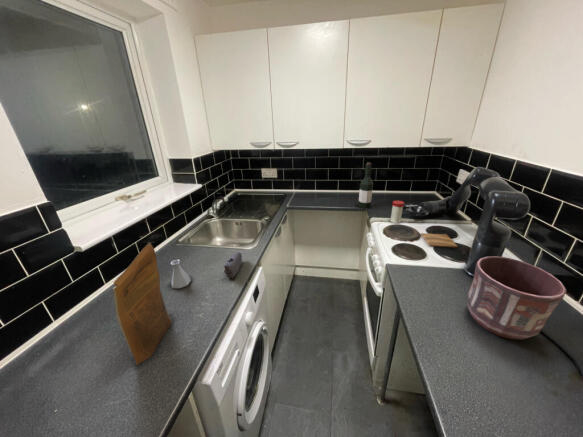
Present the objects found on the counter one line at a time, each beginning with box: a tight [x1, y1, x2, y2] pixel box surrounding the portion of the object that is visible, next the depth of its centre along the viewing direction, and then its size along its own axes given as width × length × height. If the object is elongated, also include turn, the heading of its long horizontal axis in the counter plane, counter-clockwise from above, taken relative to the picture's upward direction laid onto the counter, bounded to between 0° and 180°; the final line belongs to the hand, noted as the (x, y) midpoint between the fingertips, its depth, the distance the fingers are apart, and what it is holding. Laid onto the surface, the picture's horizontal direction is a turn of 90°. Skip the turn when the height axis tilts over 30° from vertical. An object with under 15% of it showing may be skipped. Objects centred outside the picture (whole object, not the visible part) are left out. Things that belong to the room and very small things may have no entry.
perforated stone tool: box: [223, 251, 243, 279], centre depth 96 cm, size 15×5×7 cm, turn 172°
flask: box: [170, 259, 192, 289], centre depth 89 cm, size 7×7×10 cm
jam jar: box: [389, 205, 404, 224], centre depth 133 cm, size 6×6×12 cm
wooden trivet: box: [420, 232, 459, 249], centre depth 113 cm, size 12×12×1 cm
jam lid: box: [391, 200, 405, 207], centre depth 131 cm, size 6×6×2 cm
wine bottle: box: [357, 162, 374, 210], centre depth 153 cm, size 8×8×30 cm
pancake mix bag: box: [111, 242, 172, 366], centre depth 63 cm, size 7×19×28 cm, turn 179°
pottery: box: [466, 256, 567, 341], centre depth 65 cm, size 18×18×18 cm
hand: (404, 211), depth 134 cm, fingers open, 8 cm apart
